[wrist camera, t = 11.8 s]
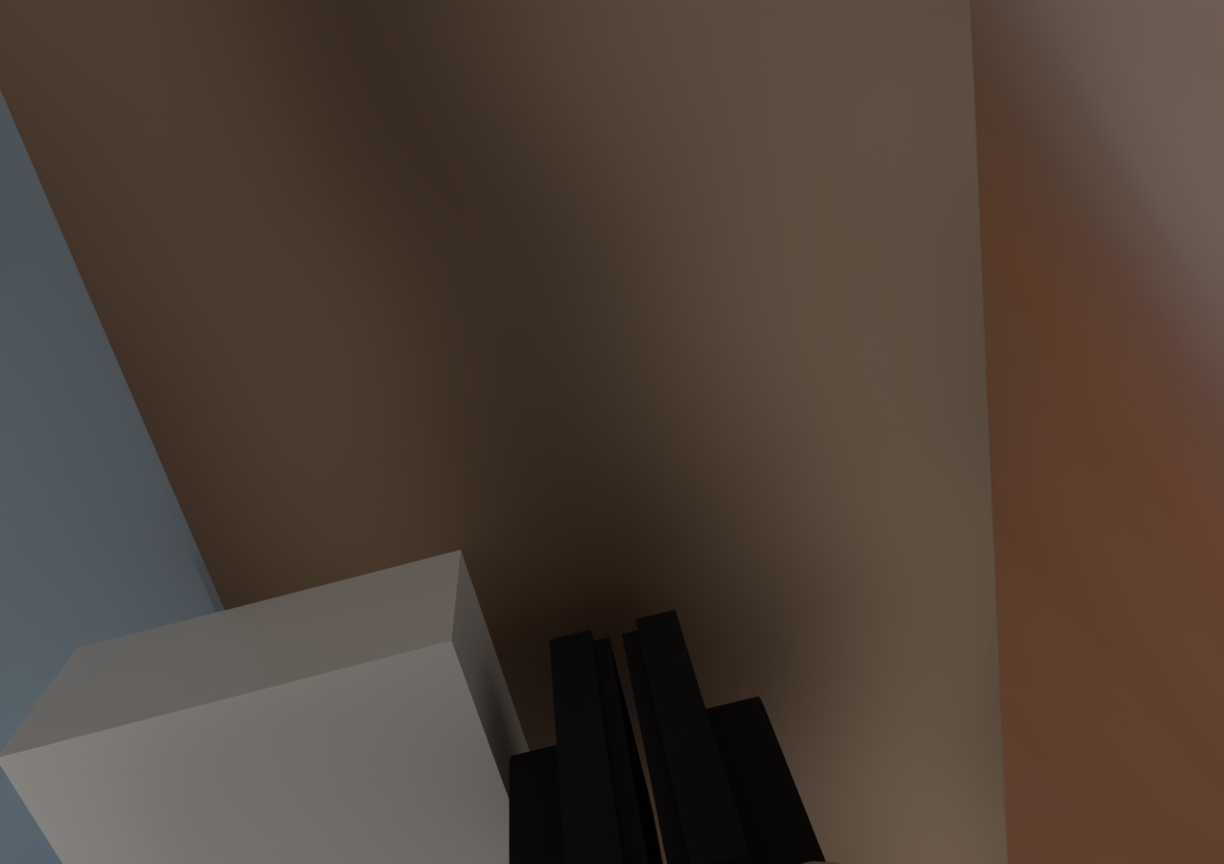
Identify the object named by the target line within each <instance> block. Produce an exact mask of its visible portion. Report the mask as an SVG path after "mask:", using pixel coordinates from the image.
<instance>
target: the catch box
mask: <svg viewBox="0 0 1224 864" xmlns="http://www.w3.org/2000/svg"><path fill="white" fill-rule="evenodd" d="M220 611H224V607H223V605H222V603H221V600H220V598H219V596H218V593H217V591H216V589H215V586H214V584H213V582H212V580H211V577H210V575H209V573H208V570H207V568H206V566H205V563H204V561H203V559H202V556H201V554H200V552H199V549H198V547H197V545H196V542H195V540H194V538H193V535H192V533H191V531H190V529H189V526H188V524H187V522H186V519H185V517H184V515H183V512H182V510H181V508H180V505H179V503H178V501H177V498H176V496H175V494H174V491H173V489H172V487H171V484H170V482H169V480H168V477H167V475H166V473H165V471H164V468H163V466H162V464H161V461H160V459H159V457H158V454H157V452H156V450H155V447H154V445H153V443H152V440H151V438H150V436H149V433H148V431H147V429H146V426H145V424H144V422H143V420H142V417H141V415H140V413H139V410H138V408H137V406H136V403H135V401H134V399H133V396H132V394H131V392H130V389H129V387H128V385H127V382H126V380H125V378H124V375H123V373H122V371H121V368H120V366H119V364H118V362H117V359H116V357H115V355H114V352H113V350H112V348H111V345H110V343H109V341H108V338H107V336H106V334H105V331H104V329H103V327H102V324H101V322H100V320H99V317H98V315H97V313H96V311H95V308H94V306H93V304H92V301H91V299H90V297H89V294H88V292H87V290H86V287H85V285H84V283H83V280H82V278H81V276H80V273H79V271H78V269H77V266H76V264H75V262H74V259H73V257H72V255H71V253H70V250H69V248H68V246H67V243H66V241H65V239H64V236H63V234H62V232H61V229H60V227H59V225H58V222H57V220H56V218H55V215H54V213H53V211H52V208H51V206H50V204H49V202H48V199H47V197H46V195H45V192H44V190H43V188H42V185H41V183H40V181H39V178H38V176H37V174H36V171H35V169H34V167H33V164H32V162H31V160H30V157H29V155H28V153H27V150H26V148H25V146H24V144H23V141H22V139H21V137H20V134H19V132H18V130H17V127H16V125H15V123H14V120H13V118H12V116H11V113H10V111H9V109H8V106H7V104H6V102H5V99H4V97H3V95H2V93H1V90H0V752H1V750H2V749H3V748H4V746H5V745H6V744H7V742H8V741H9V740H10V738H11V737H12V736H13V734H14V733H15V731H16V730H17V729H18V727H19V726H20V725H21V723H22V722H23V721H24V719H25V718H26V717H27V715H28V714H29V713H30V711H31V710H32V708H33V707H34V706H35V704H36V703H37V702H38V700H39V699H40V698H41V696H42V695H43V694H44V692H45V691H46V689H47V688H48V687H49V685H50V684H51V683H52V681H53V680H54V679H55V677H56V676H57V675H58V673H59V672H60V671H61V669H62V668H63V666H64V665H65V664H66V662H67V661H68V660H69V658H70V657H71V656H72V654H73V653H74V652H75V650H76V649H77V648H80V647H84V646H88V645H92V644H96V643H99V642H103V641H107V640H111V639H115V638H119V637H123V636H127V635H131V634H134V633H138V632H142V631H146V630H150V629H154V628H158V627H162V626H166V625H169V624H173V623H177V622H181V621H185V620H189V619H193V618H197V617H201V616H204V615H208V614H212V613H216V612H220ZM0 864H62V862H61V860H60V859H59V857H58V856H57V854H56V853H55V851H54V849H53V848H52V846H51V845H50V843H49V842H48V840H47V838H46V837H45V835H44V834H43V832H42V830H41V829H40V827H39V826H38V824H37V823H36V821H35V819H34V818H33V816H32V815H31V813H30V812H29V810H28V808H27V807H26V805H25V804H24V802H23V800H22V799H21V797H20V796H19V794H18V793H17V791H16V789H15V788H14V786H13V785H12V783H11V781H10V780H9V778H8V777H7V775H6V774H5V772H4V770H3V769H2V767H1V766H0Z"/></svg>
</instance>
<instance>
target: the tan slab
mask: <svg viewBox="0 0 1224 864" xmlns="http://www.w3.org/2000/svg"><path fill="white" fill-rule="evenodd" d="M0 90H1V93H2V95H3V97H4V99H5V102H6V104H7V106H8V109H9V111H10V113H11V116H12V118H13V120H14V123H15V125H16V127H17V130H18V132H19V134H20V137H21V139H22V141H23V144H24V146H25V148H26V150H27V153H28V155H29V157H30V160H31V162H32V164H33V167H34V169H35V171H36V174H37V176H38V178H39V181H40V183H41V185H42V188H43V190H44V192H45V195H46V197H47V199H48V202H49V204H50V206H51V208H52V211H53V213H54V215H55V218H56V220H57V222H58V225H59V227H60V229H61V232H62V234H63V236H64V239H65V241H66V243H67V246H68V248H69V250H70V253H71V255H72V257H73V259H74V262H75V264H76V266H77V269H78V271H79V273H80V276H81V278H82V280H83V283H84V285H85V287H86V290H87V292H88V294H89V297H90V299H91V301H92V304H93V306H94V308H95V311H96V313H97V315H98V317H99V320H100V322H101V324H102V327H103V329H104V331H105V334H106V336H107V338H108V341H109V343H110V345H111V348H112V350H113V352H114V355H115V357H116V359H117V362H118V364H119V366H120V368H121V371H122V373H123V375H124V378H125V380H126V382H127V385H128V387H129V389H130V392H131V394H132V396H133V399H134V401H135V403H136V406H137V408H138V410H139V413H140V415H141V417H142V420H143V422H144V424H145V426H146V429H147V431H148V433H149V436H150V438H151V440H152V443H153V445H154V447H155V450H156V452H157V454H158V457H159V459H160V461H161V464H162V466H163V468H164V471H165V473H166V475H167V477H168V480H169V482H170V484H171V487H172V489H173V491H174V494H175V496H176V498H177V501H178V503H179V505H180V508H181V510H182V512H183V515H184V517H185V519H186V522H187V524H188V526H189V529H190V531H191V533H192V535H193V538H194V540H195V542H196V545H197V547H198V549H199V552H200V554H201V556H202V559H203V561H204V563H205V566H206V568H207V570H208V573H209V575H210V577H211V580H212V582H213V584H214V586H215V589H216V591H217V593H218V596H219V598H220V600H221V603H222V605H223V607H224V610H228V609H232V608H236V607H240V606H244V605H248V604H252V603H256V602H260V601H263V600H267V599H271V598H275V597H279V596H283V595H287V594H291V593H295V592H299V591H302V590H306V589H310V588H314V587H318V586H322V585H326V584H330V583H334V582H337V581H341V580H345V579H349V578H353V577H357V576H361V575H365V574H369V573H372V572H376V571H380V570H384V569H388V568H392V567H396V566H400V565H404V564H408V563H411V562H415V561H419V560H423V559H427V558H431V557H435V556H439V555H443V554H446V553H450V552H454V551H458V550H461V552H462V555H463V558H464V561H465V564H466V567H467V570H468V573H469V576H470V579H471V582H472V585H473V588H474V590H475V593H476V596H477V599H478V602H479V605H480V608H481V611H482V614H483V617H484V620H485V623H486V626H487V628H488V631H489V634H490V637H491V640H492V643H493V646H494V649H495V652H496V655H497V658H498V661H499V664H500V666H501V669H502V672H503V675H504V678H505V681H506V684H507V687H508V690H509V693H510V696H511V699H512V702H513V705H514V708H515V710H516V713H517V716H518V719H519V722H520V725H521V728H522V731H523V734H524V737H525V740H526V743H527V746H528V749H529V751H533V750H537V749H541V748H545V747H550V746H554V745H557V744H556V730H555V715H554V701H553V687H552V673H551V658H550V639H553V638H557V637H561V636H566V635H570V634H574V633H578V632H582V631H587V630H591V632H592V635H593V639H594V640H598V639H602V638H606V637H609V639H610V642H611V646H612V650H613V654H614V658H615V662H616V666H617V670H618V674H619V678H620V681H621V685H622V689H623V693H624V697H625V701H626V705H627V709H628V713H629V717H630V721H631V725H632V729H633V733H634V737H635V741H636V745H637V748H638V752H639V756H640V760H641V764H642V768H643V772H644V776H645V780H646V784H647V788H648V792H649V796H650V800H651V805H652V809H653V814H654V819H655V823H656V829H657V834H658V839H659V844H660V849H661V855H662V860H663V864H667V861H666V856H665V852H664V847H663V842H662V837H661V832H660V826H659V821H658V816H657V811H656V806H655V801H654V796H653V791H652V786H651V781H650V776H649V771H648V766H647V761H646V756H645V750H644V745H643V740H642V735H641V730H640V725H639V720H638V715H637V710H636V705H635V700H634V695H633V690H632V685H631V679H630V674H629V669H628V664H627V659H626V654H625V649H624V644H623V639H622V634H623V633H627V632H631V631H635V630H637V625H636V621H635V619H637V618H641V617H645V616H649V615H653V614H657V613H662V612H666V611H670V610H674V609H675V610H676V613H677V616H678V619H679V623H680V626H681V629H682V633H683V636H684V639H685V642H686V646H687V649H688V652H689V656H690V659H691V662H692V665H693V669H694V672H695V675H696V679H697V682H698V685H699V688H700V692H701V695H702V698H703V702H704V705H705V708H706V709H707V708H711V707H715V706H719V705H723V704H728V703H732V702H736V701H740V700H744V699H748V698H752V697H757V696H759V697H760V698H761V700H762V702H763V705H764V707H765V709H766V712H767V714H768V717H769V719H770V722H771V724H772V727H773V729H774V732H775V734H776V737H777V739H778V742H779V744H780V747H781V749H782V752H783V755H784V757H785V760H786V762H787V765H788V767H789V770H790V772H791V775H792V777H793V780H794V782H795V785H796V787H797V790H798V792H799V795H800V797H801V800H802V802H803V805H804V807H805V810H806V812H807V815H808V818H809V820H810V823H811V825H812V828H813V830H814V833H815V835H816V838H817V840H818V843H819V845H820V848H821V850H822V853H823V855H824V858H825V860H826V862H836V863H840V864H1008V862H1007V838H1006V815H1005V792H1004V769H1003V745H1002V722H1001V699H1000V675H999V652H998V629H997V606H996V582H995V559H994V536H993V513H992V489H991V466H990V443H989V419H988V396H987V373H986V350H985V326H984V303H983V280H982V256H981V233H980V210H979V187H978V163H977V140H976V117H975V94H974V70H973V47H972V24H971V0H0Z"/></svg>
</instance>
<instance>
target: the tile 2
mask: <svg viewBox="0 0 1224 864" xmlns="http://www.w3.org/2000/svg"><path fill="white" fill-rule="evenodd" d="M525 752H529V749H528V746H527V743H526V740H525V737H524V734H523V731H522V728H521V725H520V722H519V719H518V716H517V713H516V710H515V708H514V705H513V702H512V699H511V696H510V693H509V690H508V687H507V684H506V681H505V678H504V675H503V672H502V669H501V666H500V664H499V661H498V658H497V655H496V652H495V649H494V646H493V643H492V640H491V637H490V634H489V631H488V628H487V626H486V623H485V620H484V617H483V614H482V611H481V608H480V605H479V602H478V599H477V596H476V593H475V590H474V588H473V585H472V582H471V579H470V576H469V573H468V570H467V567H466V564H465V561H464V558H463V555H462V552H461V550H458V551H454V552H450V553H446V554H443V555H439V556H435V557H431V558H427V559H423V560H419V561H415V562H411V563H408V564H404V565H400V566H396V567H392V568H388V569H384V570H380V571H376V572H372V573H369V574H365V575H361V576H357V577H353V578H349V579H345V580H341V581H337V582H334V583H330V584H326V585H322V586H318V587H314V588H310V589H306V590H302V591H299V592H295V593H291V594H287V595H283V596H279V597H275V598H271V599H267V600H263V601H260V602H256V603H252V604H248V605H244V606H240V607H236V608H232V609H228V610H224V611H220V612H216V613H212V614H208V615H204V616H201V617H197V618H193V619H189V620H185V621H181V622H177V623H173V624H169V625H166V626H162V627H158V628H154V629H150V630H146V631H142V632H138V633H134V634H131V635H127V636H123V637H119V638H115V639H111V640H107V641H103V642H99V643H96V644H92V645H88V646H84V647H80V648H77V649H76V650H75V652H74V653H73V654H72V656H71V657H70V658H69V660H68V661H67V662H66V664H65V665H64V666H63V668H62V669H61V671H60V672H59V673H58V675H57V676H56V677H55V679H54V680H53V681H52V683H51V684H50V685H49V687H48V688H47V689H46V691H45V692H44V694H43V695H42V696H41V698H40V699H39V700H38V702H37V703H36V704H35V706H34V707H33V708H32V710H31V711H30V713H29V714H28V715H27V717H26V718H25V719H24V721H23V722H22V723H21V725H20V726H19V727H18V729H17V730H16V731H15V733H14V734H13V736H12V737H11V738H10V740H9V741H8V742H7V744H6V745H5V746H4V748H3V749H2V750H1V752H0V766H1V767H2V769H3V770H4V772H5V774H6V775H7V777H8V778H9V780H10V781H11V783H12V785H13V786H14V788H15V789H16V791H17V793H18V794H19V796H20V797H21V799H22V800H23V802H24V804H25V805H26V807H27V808H28V810H29V812H30V813H31V815H32V816H33V818H34V819H35V821H36V823H37V824H38V826H39V827H40V829H41V830H42V832H43V834H44V835H45V837H46V838H47V840H48V842H49V843H50V845H51V846H52V848H53V849H54V851H55V853H56V854H57V856H58V857H59V859H60V860H61V862H62V864H509V762H510V758H511V756H512V755H516V754H521V753H525Z"/></svg>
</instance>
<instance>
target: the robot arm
mask: <svg viewBox="0 0 1224 864" xmlns="http://www.w3.org/2000/svg"><path fill="white" fill-rule="evenodd" d="M635 621H636V625H637V630H635V631H631V632H627V633H623V634H622V639H623V644H624V649H625V654H626V659H627V664H628V669H629V674H630V679H631V685H632V690H633V695H634V700H635V705H636V710H637V715H638V720H639V725H640V730H641V735H642V740H643V745H644V750H645V756H646V761H647V766H648V771H649V776H650V781H651V786H652V791H653V796H654V801H655V806H656V811H657V816H658V821H659V826H660V832H661V837H662V842H663V847H664V852H665V856H666V861H667V864H840V863H836V862H826V860H825V858H824V855H823V853H822V850H821V848H820V845H819V843H818V840H817V838H816V835H815V833H814V830H813V828H812V825H811V823H810V820H809V818H808V815H807V812H806V810H805V807H804V805H803V802H802V800H801V797H800V795H799V792H798V790H797V787H796V785H795V782H794V780H793V777H792V775H791V772H790V770H789V767H788V765H787V762H786V760H785V757H784V755H783V752H782V749H781V747H780V744H779V742H778V739H777V737H776V734H775V732H774V729H773V727H772V724H771V722H770V719H769V717H768V714H767V712H766V709H765V707H764V705H763V702H762V700H761V698H760V697H759V696H757V697H752V698H748V699H744V700H740V701H736V702H732V703H728V704H723V705H719V706H715V707H711V708H707V709H706V708H705V705H704V702H703V698H702V695H701V692H700V688H699V685H698V682H697V679H696V675H695V672H694V669H693V665H692V662H691V659H690V656H689V652H688V649H687V646H686V642H685V639H684V636H683V633H682V629H681V626H680V623H679V619H678V616H677V613H676V610H675V609H674V610H670V611H666V612H662V613H657V614H653V615H649V616H645V617H641V618H637V619H635ZM550 658H551V673H552V687H553V701H554V715H555V730H556V744H557V745H554V746H550V747H545V748H541V749H537V750H533V751H529V752H525V753H521V754H516V755H512V756H511V758H510V762H509V864H663V860H662V855H661V849H660V844H659V839H658V834H657V829H656V823H655V819H654V814H653V809H652V805H651V800H650V796H649V792H648V788H647V784H646V780H645V776H644V772H643V768H642V764H641V760H640V756H639V752H638V748H637V745H636V741H635V737H634V733H633V729H632V725H631V721H630V717H629V713H628V709H627V705H626V701H625V697H624V693H623V689H622V685H621V681H620V678H619V674H618V670H617V666H616V662H615V658H614V654H613V650H612V646H611V642H610V639H609V637H606V638H602V639H598V640H594V639H593V635H592V632H591V630H587V631H582V632H578V633H574V634H570V635H566V636H561V637H557V638H553V639H550Z"/></svg>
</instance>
